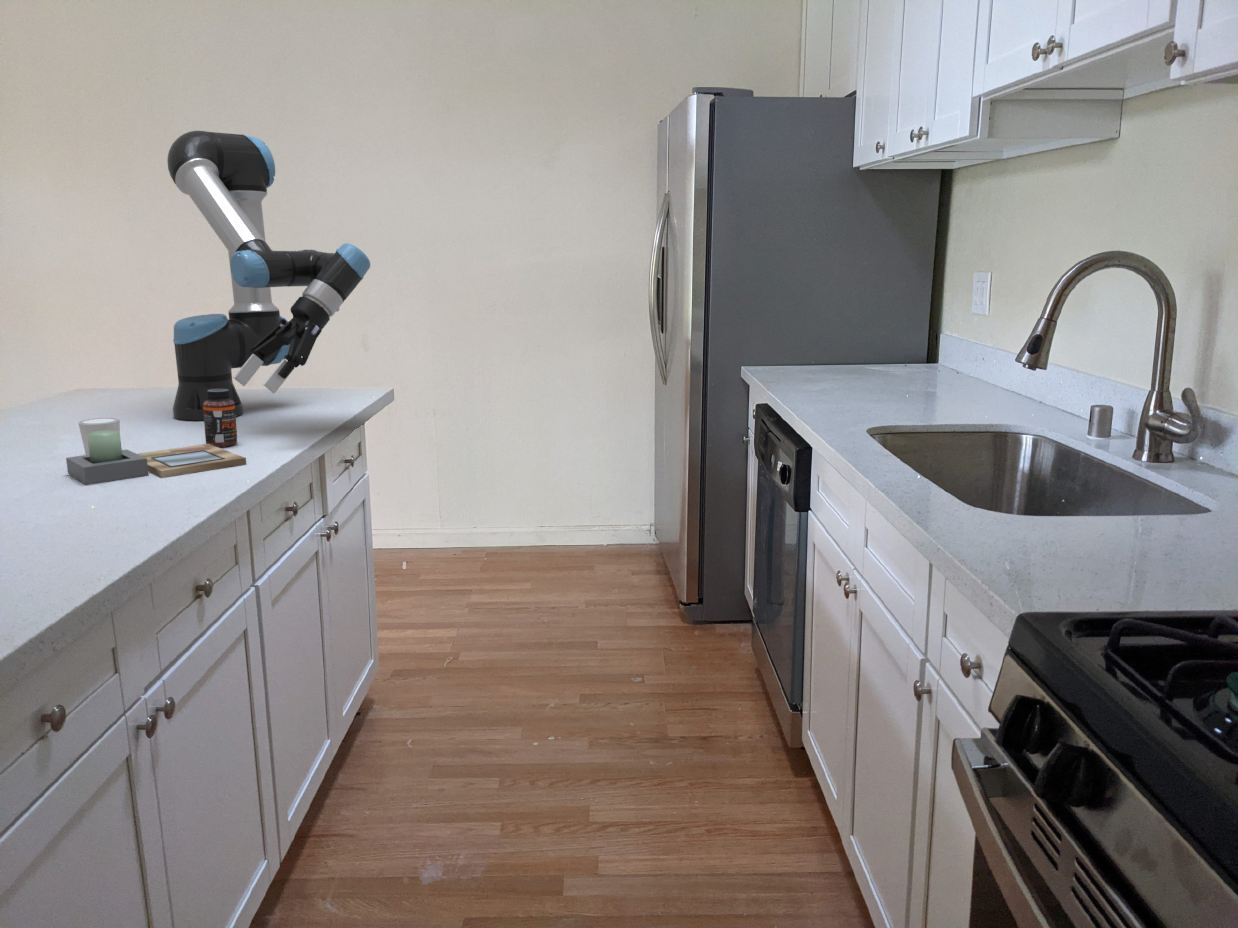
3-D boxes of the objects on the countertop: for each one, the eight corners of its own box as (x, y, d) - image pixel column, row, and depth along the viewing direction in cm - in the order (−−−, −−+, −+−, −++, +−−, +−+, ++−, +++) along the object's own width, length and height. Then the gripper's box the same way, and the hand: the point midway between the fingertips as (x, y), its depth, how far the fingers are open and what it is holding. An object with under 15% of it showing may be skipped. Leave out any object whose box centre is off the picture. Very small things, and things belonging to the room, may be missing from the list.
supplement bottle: (227, 448, 184) (222, 392, 181) (199, 447, 185) (195, 391, 182) (243, 442, 190) (239, 388, 187) (217, 441, 191) (212, 386, 188)
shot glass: (82, 462, 172) (77, 425, 170) (83, 454, 178) (78, 418, 176) (123, 458, 175) (119, 422, 173) (123, 451, 181) (119, 416, 179)
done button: (86, 460, 162) (83, 432, 161) (117, 456, 166) (114, 429, 164) (95, 465, 159) (92, 437, 157) (126, 461, 162) (123, 433, 161)
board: (128, 461, 173) (127, 454, 172) (209, 449, 183) (208, 443, 183) (161, 477, 161) (161, 470, 161) (246, 464, 171) (245, 457, 171)
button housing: (68, 474, 163) (66, 457, 162) (128, 465, 170) (127, 449, 169) (86, 484, 156) (83, 467, 155) (148, 475, 163) (146, 458, 162)
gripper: (359, 322, 188) (296, 403, 181) (300, 315, 205) (240, 390, 198) (333, 297, 183) (267, 380, 176) (275, 292, 200) (213, 368, 193)
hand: (253, 385), depth 187 cm, fingers open, 13 cm apart
